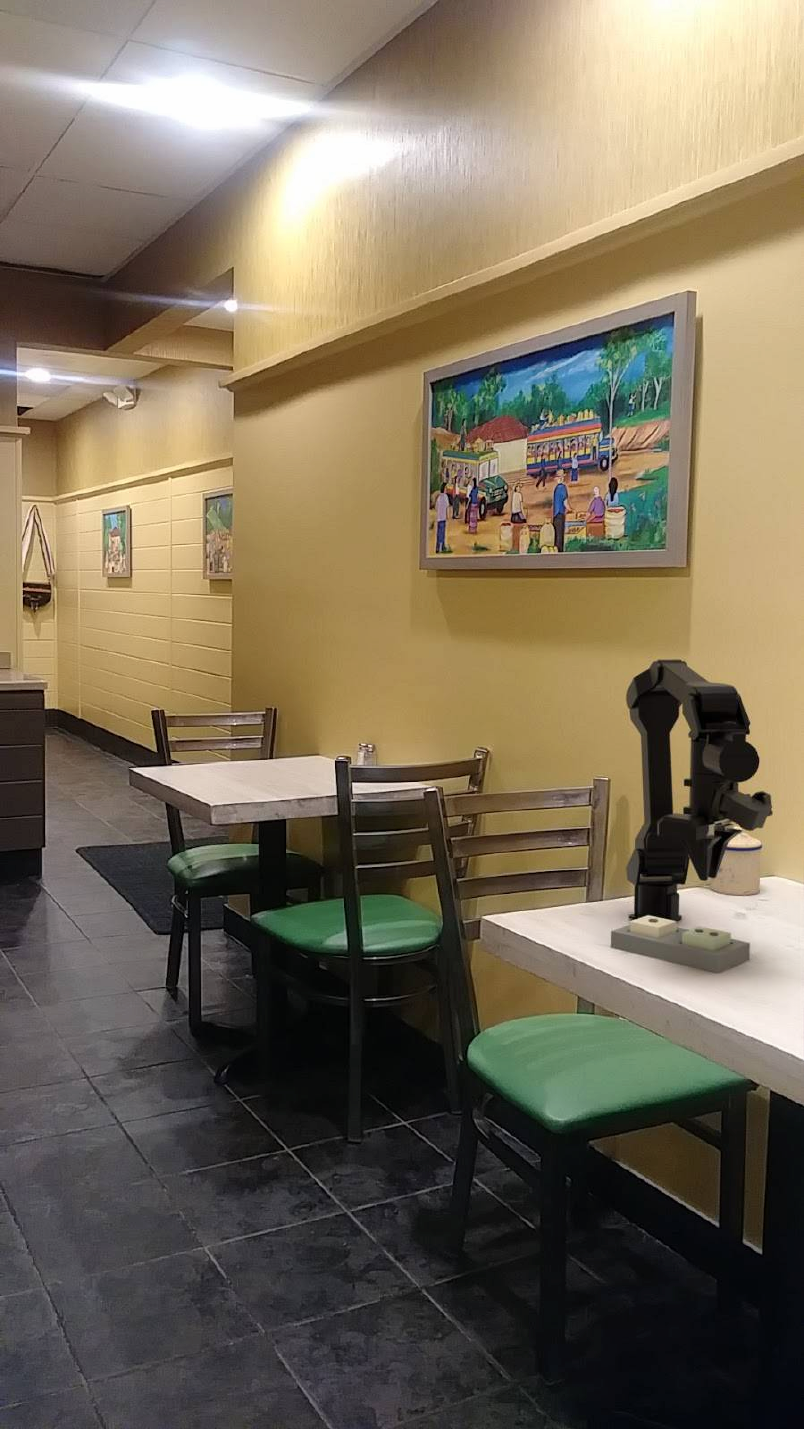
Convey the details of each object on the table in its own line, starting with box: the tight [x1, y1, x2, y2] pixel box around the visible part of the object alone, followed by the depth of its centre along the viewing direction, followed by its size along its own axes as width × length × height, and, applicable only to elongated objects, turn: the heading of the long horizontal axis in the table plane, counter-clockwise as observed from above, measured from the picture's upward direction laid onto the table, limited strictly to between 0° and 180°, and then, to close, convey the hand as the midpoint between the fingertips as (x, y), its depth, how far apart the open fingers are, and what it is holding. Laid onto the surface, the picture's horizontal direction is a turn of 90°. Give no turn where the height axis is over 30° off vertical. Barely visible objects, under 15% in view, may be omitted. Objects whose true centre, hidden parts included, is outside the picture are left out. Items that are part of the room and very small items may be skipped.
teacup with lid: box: [710, 826, 763, 896], centre depth 212 cm, size 12×9×12 cm
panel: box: [610, 924, 751, 974], centre depth 172 cm, size 18×9×2 cm, turn 45°
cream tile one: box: [629, 915, 678, 939], centre depth 175 cm, size 5×5×2 cm
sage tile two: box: [682, 926, 732, 951], centre depth 169 cm, size 5×5×2 cm
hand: (707, 878), depth 168 cm, fingers open, 2 cm apart
